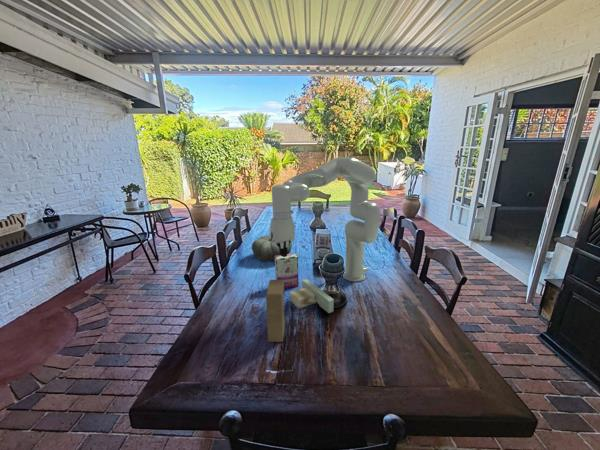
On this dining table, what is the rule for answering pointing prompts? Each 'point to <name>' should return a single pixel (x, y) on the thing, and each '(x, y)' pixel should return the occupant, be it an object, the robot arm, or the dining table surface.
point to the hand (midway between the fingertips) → (283, 255)
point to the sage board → (320, 296)
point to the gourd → (266, 249)
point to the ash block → (302, 297)
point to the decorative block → (275, 310)
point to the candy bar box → (287, 269)
